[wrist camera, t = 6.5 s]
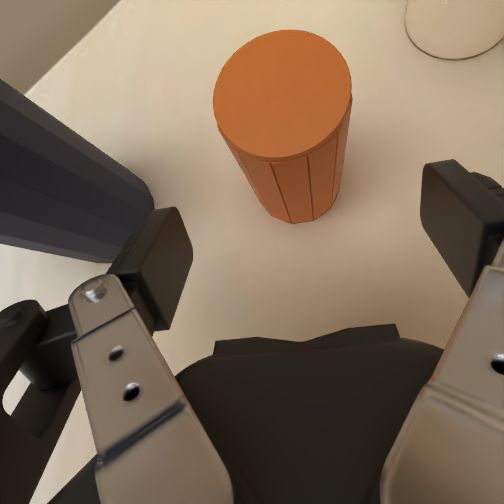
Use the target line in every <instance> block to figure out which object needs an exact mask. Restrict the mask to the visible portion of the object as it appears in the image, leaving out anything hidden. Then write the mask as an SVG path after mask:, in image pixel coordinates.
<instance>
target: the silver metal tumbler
mask: <svg viewBox="0 0 504 504" xmlns="http://www.w3.org/2000/svg"><path fill="white" fill-rule="evenodd" d="M405 25H406V30H407V32H408V35H409V37H410V38H411V40H412V41H413V42H414V44H415V45H416V46H418V47H419V48H420V49H421V50H423V51H424V52H426V53H428V54H430V55H433V56H436V57H439V58H445V59H463V58H468V57H472V56H475V55H478V54H481V53H483V52H485V51H487V50H488V49H490V48H492V47H493V46H494V45H496V44H497V43H498V42H499V41H500V40H501V39H502V38H503V37H504V0H409V2H408V5H407V8H406V13H405Z"/></svg>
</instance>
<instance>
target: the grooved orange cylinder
mask: <svg viewBox="0 0 504 504" xmlns="http://www.w3.org/2000/svg"><path fill="white" fill-rule="evenodd" d="M351 87H352V84H351V76H350V72H349V68H348V66H347V64H346V61H345V60H344V58H343V56H342V55H341V53H340V52H339V51H338V50H337V49H336V48H335V47H334V46H333V45H332V44H331V43H330V42H328V41H327V40H325V39H324V38H322V37H320V36H318V35H315V34H313V33H309V32H306V31H300V30H280V31H275V32H271V33H267V34H264V35H262V36H259V37H257V38H255V39H253V40H251V41H250V42H248V43H246V44H245V45H244V46H242V47H241V48H240V49H238V50H237V51H236V52H235V53H234V54H233V55H232V56H231V57H230V59H229V60H228V61H227V62H226V64H225V65H224V67H223V68H222V70H221V72H220V74H219V76H218V79H217V82H216V85H215V89H214V96H213V108H214V114H215V118H216V121H217V124H218V128H219V131H220V133H221V134H222V136H223V138H224V140H225V141H226V143H227V145H228V147H229V148H230V150H231V152H232V153H233V155H234V157H235V159H236V160H237V162H238V164H239V166H240V167H241V169H242V171H243V172H244V174H245V176H246V178H247V179H248V181H249V183H250V185H251V186H252V188H253V190H254V191H255V193H256V195H257V197H258V198H259V200H260V202H261V203H262V204H263V205H264V207H265V208H266V209H267V211H268V212H269V213H270V214H271V216H273V217H275V218H278V219H280V220H283V221H286V222H288V223H292V224H294V223H301V222H307V221H313V219H314V220H315V219H316V218H318V217H319V216H320V215H322V214H323V213H324V212H326V211H327V210H328V209H330V208H331V206H332V205H333V202H334V200H335V197H336V195H337V193H338V190H339V188H340V181H341V174H342V167H343V161H344V154H345V147H346V140H347V134H348V127H349V120H350V113H351V106H352V93H351Z"/></svg>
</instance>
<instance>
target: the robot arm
mask: <svg viewBox="0 0 504 504" xmlns="http://www.w3.org/2000/svg"><path fill="white" fill-rule="evenodd" d="M420 217H421V222H422V226H423V228H424V230H425V231H426V233H427V235H428V236H429V238H430V239H431V241H432V242H433V244H434V245H435V247H436V248H437V250H438V251H439V253H440V254H441V256H442V258H443V259H444V261H445V262H446V264H447V265H448V267H449V268H450V270H451V271H452V273H453V274H454V276H455V277H456V279H457V281H458V282H459V284H460V285H461V287H462V288H463V290H464V291H465V293H466V294H467V296H468V297H469V300H468V302H467V304H466V306H465V308H464V311H463V313H462V315H461V317H460V319H459V321H458V323H457V325H456V327H455V329H454V331H453V333H452V335H451V337H450V340H449V342H448V344H447V346H446V348H445V350H443V349H441V348H438V347H436V346H433V345H430V344H427V343H424V342H420V341H416V340H411V339H405V338H400V336H399V333H398V330H397V327H396V325H395V324H386V325H375V326H365V327H355V328H347V329H343V330H340V331H337V332H334V333H331V334H327V335H324V336H321V337H318V338H314V339H311V340H308V341H304V342H295V341H286V340H278V339H270V338H261V337H251V338H241V339H230V340H220V341H215V346H214V352H213V355H211V356H208V357H206V358H203V359H201V360H199V361H197V362H195V363H193V364H191V365H190V366H188V367H187V368H185V369H184V370H182V371H181V372H180V373H178V374H177V375H176V376H175V377H174V375H173V374H172V372H171V370H170V368H169V367H168V365H167V363H166V361H165V359H164V358H163V356H162V354H161V352H160V351H159V349H158V347H157V345H156V344H155V342H154V340H153V338H152V336H153V333H154V331H162V330H169V329H170V326H171V323H172V320H173V317H174V315H175V312H176V309H177V306H178V303H179V300H180V297H181V294H182V291H183V288H184V285H185V282H186V279H187V276H188V273H189V270H190V267H191V264H192V261H193V248H192V244H191V242H190V239H189V236H188V234H187V231H186V228H185V226H184V223H183V221H182V218H181V215H180V213H179V211H178V209H177V208H176V207H169V208H163V209H157V210H153V211H152V213H151V214H150V216H149V217H148V219H147V221H146V222H145V224H144V225H143V226H141V227H140V228H139V229H138V230H136V231H135V232H134V233H133V234H132V235H131V236H130V237H129V239H128V240H127V242H126V243H125V246H124V247H123V248H122V250H121V251H120V254H118V256H117V257H116V259H115V260H114V262H113V264H112V265H111V267H110V268H109V270H108V271H107V273H106V274H104V275H100V276H96V277H94V278H91V279H89V280H87V281H85V282H84V283H82V284H81V285H80V286H78V287H77V288H76V289H75V290H74V291H73V292H72V294H71V295H70V297H69V299H68V304H66V305H63V306H60V307H58V308H55V309H52V310H49V311H46V312H45V311H44V309H43V308H42V307H41V305H40V304H39V303H38V302H37V301H36V300H24V301H21V302H18V303H15V304H13V305H11V306H9V307H7V308H5V309H4V310H2V311H1V312H0V504H29V502H30V500H31V498H32V496H33V494H34V491H35V489H36V487H37V485H38V483H39V481H40V478H41V476H42V474H43V472H44V470H45V467H46V465H47V463H48V461H49V459H50V457H51V454H52V452H53V450H54V448H55V446H56V444H57V441H58V439H59V437H60V435H61V433H62V430H63V428H64V426H65V424H66V422H67V420H68V417H69V415H70V413H71V411H72V409H73V406H74V404H75V402H76V400H77V398H78V396H79V393H80V391H81V389H82V393H83V397H84V402H85V406H86V410H87V414H88V418H89V422H90V426H91V430H92V434H93V438H94V442H95V447H96V451H97V454H96V455H95V456H94V457H93V458H92V459H91V460H90V461H89V462H88V463H87V464H86V465H85V466H84V467H83V468H82V469H81V470H80V471H79V472H78V473H77V474H76V475H75V476H74V477H73V478H72V479H71V480H70V481H69V482H68V483H67V484H66V485H65V486H64V487H63V488H62V489H61V490H60V491H59V492H58V493H57V494H56V495H55V496H54V497H53V498H52V499H51V500H50V501H49V502H48V503H47V504H504V188H502V186H501V185H499V184H498V183H497V182H496V181H494V180H493V179H492V178H490V177H487V176H485V175H482V174H479V173H476V172H471V173H469V172H468V171H467V170H466V169H465V168H464V167H463V166H461V165H460V164H459V163H458V162H457V161H456V160H454V159H451V160H445V161H439V162H433V163H428V164H425V166H424V168H423V174H422V189H421V204H420ZM18 370H20V371H21V372H22V373H23V374H24V376H25V377H26V378H27V379H28V380H29V381H30V382H31V383H30V385H29V386H28V388H27V390H26V391H25V393H24V395H23V396H22V398H21V400H20V401H19V403H18V405H17V406H16V408H15V410H14V411H13V413H12V415H11V416H10V415H9V414H7V413H6V412H5V410H4V408H3V404H2V400H3V395H4V392H5V390H6V388H7V387H8V385H9V384H10V382H11V381H12V379H13V378H14V376H15V375H16V373H17V372H18Z"/></svg>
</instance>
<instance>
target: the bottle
mask: <svg viewBox="0 0 504 504" xmlns="http://www.w3.org/2000/svg"><path fill="white" fill-rule="evenodd" d="M153 210H154V204H153V199H152V196H151V193H150V191H149V189H148V188H147V186H146V185H145V183H144V182H143V181H142V180H141V179H140V178H138V177H137V176H135V175H134V174H133V173H132V172H130V171H129V170H128V169H126V168H125V167H123V166H122V165H121V164H119V163H118V162H116V161H115V160H114V159H112V158H111V157H109V156H108V155H107V154H105V153H104V152H102V151H101V150H100V149H98V148H97V147H95V146H94V145H93V144H91V143H90V142H88V141H87V140H86V139H84V138H83V137H81V136H80V135H79V134H77V133H76V132H74V131H73V130H71V129H70V128H69V127H67V126H66V125H64V124H63V123H62V122H60V121H59V120H57V119H56V118H55V117H53V116H52V115H50V114H49V113H48V112H46V111H45V110H43V109H42V108H41V107H39V106H38V105H36V104H35V103H34V102H32V101H31V100H29V99H28V98H27V97H25V96H24V95H22V94H21V93H19V92H18V91H17V90H15V89H14V88H12V87H11V86H9V85H8V84H7V83H5V82H4V81H3V80H1V79H0V244H5V245H10V246H15V247H20V248H25V249H30V250H35V251H40V252H45V253H50V254H55V255H60V256H65V257H70V258H75V259H80V260H85V261H90V262H95V263H112V262H114V260H115V259H116V257H117V256H118V254H120V251H121V250H122V248H123V247H124V246H125V243H126V242H127V240H128V239H129V237H130V236H131V235H132V234H133V233H134V232H135V231H136V230H138V229H139V228H140V227H141V226H143V225H144V224H145V222H146V221H147V219H148V217H149V216H150V214H151V213H152V211H153Z"/></svg>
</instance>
